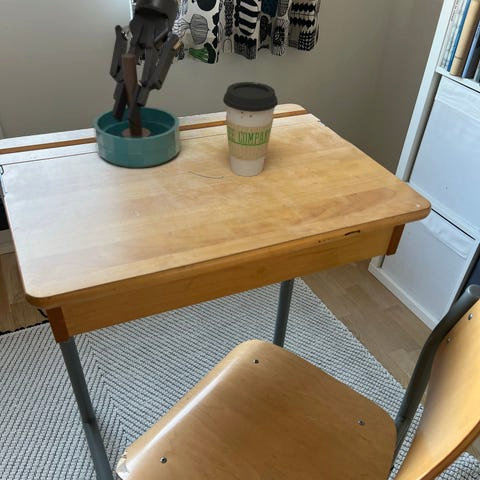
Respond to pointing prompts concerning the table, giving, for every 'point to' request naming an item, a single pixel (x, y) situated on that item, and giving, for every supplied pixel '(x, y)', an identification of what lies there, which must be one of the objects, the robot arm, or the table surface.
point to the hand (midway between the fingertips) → (123, 119)
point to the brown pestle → (130, 84)
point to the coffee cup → (249, 125)
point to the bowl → (138, 149)
